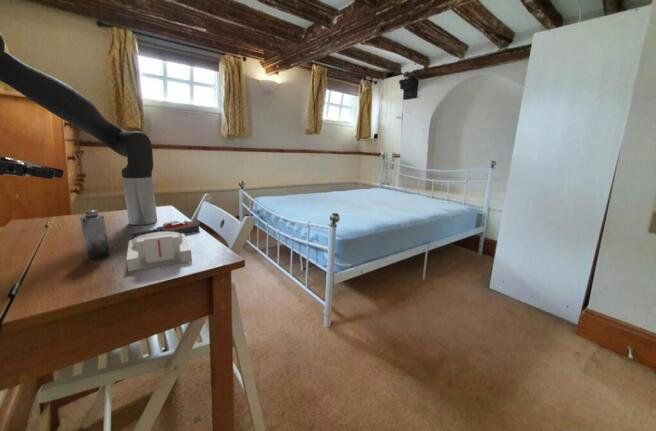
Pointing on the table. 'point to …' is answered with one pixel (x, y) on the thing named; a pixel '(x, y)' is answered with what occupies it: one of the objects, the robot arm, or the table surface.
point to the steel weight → (95, 235)
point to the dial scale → (157, 250)
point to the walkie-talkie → (173, 228)
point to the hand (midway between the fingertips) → (58, 174)
